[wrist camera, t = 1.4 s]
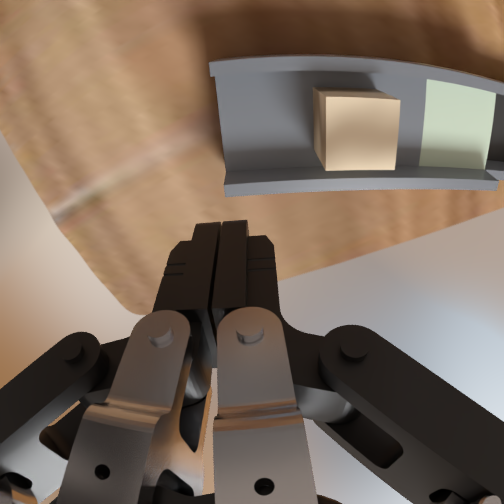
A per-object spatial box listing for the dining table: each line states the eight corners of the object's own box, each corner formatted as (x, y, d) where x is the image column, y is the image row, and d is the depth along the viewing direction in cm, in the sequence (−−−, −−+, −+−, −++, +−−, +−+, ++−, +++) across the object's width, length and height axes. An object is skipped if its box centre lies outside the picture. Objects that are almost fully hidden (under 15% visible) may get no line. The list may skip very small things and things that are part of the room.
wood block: (312, 87, 21) (326, 96, 17) (376, 89, 21) (400, 100, 17) (313, 149, 24) (325, 170, 20) (373, 148, 24) (394, 169, 20)
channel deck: (217, 59, 22) (208, 62, 18) (530, 90, 21) (563, 105, 16) (229, 169, 28) (225, 197, 24) (517, 170, 27) (545, 193, 22)
